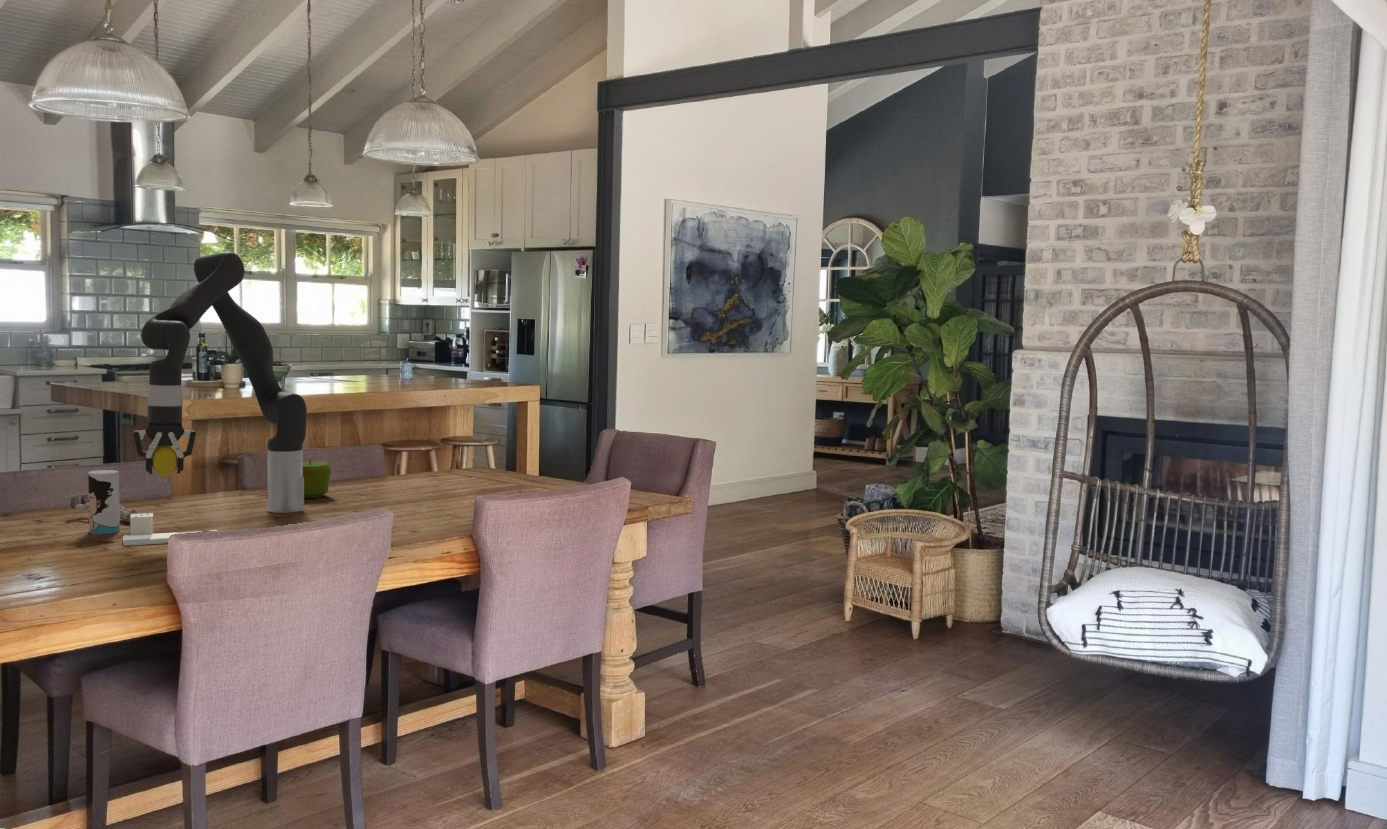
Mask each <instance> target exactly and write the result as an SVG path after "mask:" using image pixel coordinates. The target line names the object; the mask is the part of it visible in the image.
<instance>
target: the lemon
mask: <svg viewBox="0 0 1387 829" xmlns="http://www.w3.org/2000/svg"><path fill="white" fill-rule="evenodd" d="M151 458H152V470H154V472H155V473H157V474H158V475H160V476H161V477H162V478H164V479H165V478H167V477H168V476H169V475H171V474H173V473H174V472H175V471H176V470H177V458H178V455H177V452H176V450H175V449H173V448H172V447H171V446H167V445H163V446H159V447H158V448H156V449H155V450H154V452H153V454H152V457H151Z"/></svg>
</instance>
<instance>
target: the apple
mask: <svg viewBox="0 0 1387 829" xmlns="http://www.w3.org/2000/svg"><path fill="white" fill-rule="evenodd" d="M309 460H310V461H303V477H304V499H317V498H322V497H323V496H324V495H326V494H327V493H328V492H329V482H330V477H331V473H332V467H331V465H330V464H329V463H328V462H326V461H320V460H319V461H316V460H312V459H309Z"/></svg>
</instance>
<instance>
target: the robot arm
mask: <svg viewBox="0 0 1387 829" xmlns="http://www.w3.org/2000/svg"><path fill="white" fill-rule="evenodd" d="M193 271H194V275H195V279H196V280H197V284H196V285H193V286H192V287H191V288H189V289H187V290H186V291H184V292H183V293H181V294H180V295H179V296H178V297H177V298H176V299H175V300H174V302H172V304H171V305H170V306H169V307H168V308H167V309H165V310H162V311H160V312H159V313H157V314H156V315H154V316H152V317H151V318H149V319H147V321H145V322H146V323H144V325H143V327H142V329H141V333H140V336H141V341H142V344H143V345H144V346H145V347H147V348H148V349H150V350H158V351H159V350H161V351H162V350H163V351H168V352H167V354H166V356H165V357H164V358H162V359H161V358H160V359H155V360H153V361H151V362H150V364H149V371H148V372H149V376H148V377H149V378H148V379H149V380H148V383H149V385H148V391H147V427H146V428H145V429H142V430H134V431H133V438H134V443H135V449H136V452H137V456H138V457H142V458H144V459H145V471H146V472H147V473H148V475H153V466H152V458H153V454H154V452H155V451H156V449H157V447H162V446H163V445H167V446H168V447H173V448H174V451H175V453H176V455H177V467H176V474H181V472H183V471H184V464H185V463H184V462H185V461H184V458H185V457H188V456H191V455H192V454H193V450H194V445H195V440H196V435H197V433H196V431H195V430H194V429H193V430H188V429H184V427H183V404H184V403H183V402H184V400H183V389H182V370H183V364H184V361H185V358H186V354H187V351H188V348H189V345H190V340H191V333H190V330H191V329H193V327H194V326H195V325H196V324H197V323H198V322H199V321H200V319H201V318H202V317H203V316H204V314H205V313H206V312H207V311H208V310H209V309H210V308H211V307H212V308H213V309H214V311H215V313H216V315H217V317H218V318H219V320H220V322H221V324H222V326H223V328H224V330H225V332H226V334H227V336H228V339H229V341H230V343H231V346H232V347H233V350H234V352H235V354H236V355H237V357H238V359H239V361H240V363H241V366H242V367H243V369H244V372H245V374H246V376H247V378H248V379H249V382H250V384H251V386H252V389H253V391H254V395H255V397H256V400H257V403H258V405H259V408H260V411H261V413H262V416H263V417H264V418H265V420H266V421H268V422H269V423H270V424H273V425H276V434H275V435H274V436H273V437H271V438H269V439H268V441H267V511H268V512H269V513H277V514H278V513H282V514H285V513H286V514H287V513H288V514H289V513H296V512H304V511H305V509H304V508H305V498H304V477H303V462H304V461H303V460H304V458H303V453H304V452H303V451H304V450H303V448H304V446H303V445H304V442H305V440H306V436H307V421H308V418H307V416H308V410H307V408H308V407H307V403H306V401H305V399H304V398H303V397H302V396H301V395H300V394H298V393H295V392H285V391H284V390H283V389H282V388H281V385H280V383H279V381H278V379H277V378H276V376H275V371H274V349H273V345H272V342H271V340H270V339H269V338H270V337H269V336H268V334H267V332H266V329H265V328H264V326H263V325H262V323H261V322H260V321H259V320H258V319H257V318H256V317H254V316H253V315H252V314H250V313H249V312H248V311H247V310H245V309H244V308H242V307H241V306H240V305H239V304H238V303H236V301H235V300H234V299H233V297H231V296H232V295H231V294H230V293H229V292H230V291H231V290H232V289H234V288H235V287H237V286H239V284H240V283H241V282H242V281H243V280H244V277H245V272H246V271H245V265H244V262H243V260H242V259H241V257H240V256H239V255H238V254H237V253H235V252H233V251H222V252H216V253H211V254H207V255H202V256H199V257H197V258H196V259H195V261H194V264H193ZM145 435H147V437H148V438H149V439H150V441H151V442H150V444H149V446H148V449H147V450H146V451H145V450H143V447H142V440H143V439H144V437H145ZM183 435H185V439H186V440H188V441H187V445H186V449H185V450H184V451H183V449H181V447H180V444H179V442H178V441H179V440H180V439H181V438H182V436H183Z"/></svg>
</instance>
